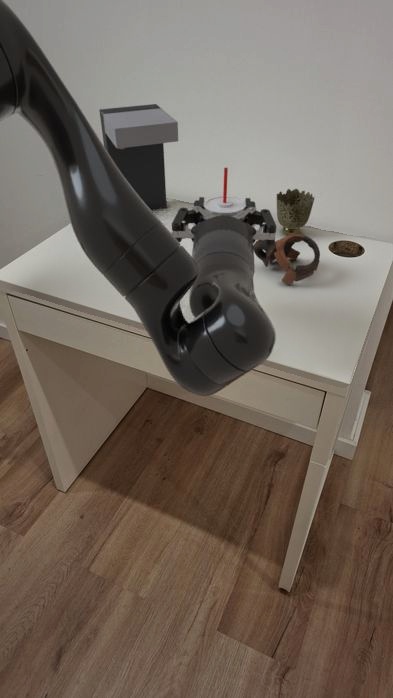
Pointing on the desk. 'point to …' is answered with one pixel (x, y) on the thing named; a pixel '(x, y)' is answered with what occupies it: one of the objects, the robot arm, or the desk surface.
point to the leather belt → (288, 256)
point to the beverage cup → (224, 202)
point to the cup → (293, 210)
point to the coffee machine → (140, 147)
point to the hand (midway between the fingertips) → (224, 204)
